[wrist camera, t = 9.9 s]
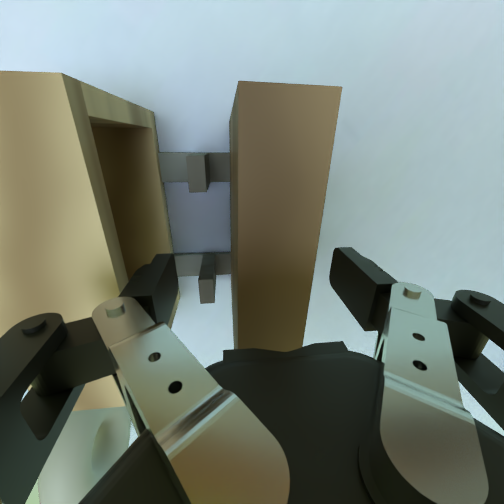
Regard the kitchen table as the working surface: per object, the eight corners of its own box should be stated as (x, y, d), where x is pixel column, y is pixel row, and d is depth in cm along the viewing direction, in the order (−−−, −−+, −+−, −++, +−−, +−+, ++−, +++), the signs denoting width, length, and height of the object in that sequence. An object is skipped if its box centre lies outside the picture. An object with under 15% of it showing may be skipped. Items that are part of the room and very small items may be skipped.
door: (285, 123, 17) (396, 89, 6) (273, 282, 22) (320, 416, 11) (229, 121, 16) (238, 80, 5) (231, 283, 22) (237, 424, 11)
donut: (81, 365, 24) (-3, 496, 15) (115, 360, 25) (52, 486, 16) (114, 423, 29) (64, 552, 20) (143, 418, 29) (107, 544, 20)
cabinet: (292, 114, 17) (369, 83, 8) (280, 292, 23) (315, 388, 14) (65, 110, 15) (-159, 65, 6) (118, 300, 22) (41, 414, 13)
